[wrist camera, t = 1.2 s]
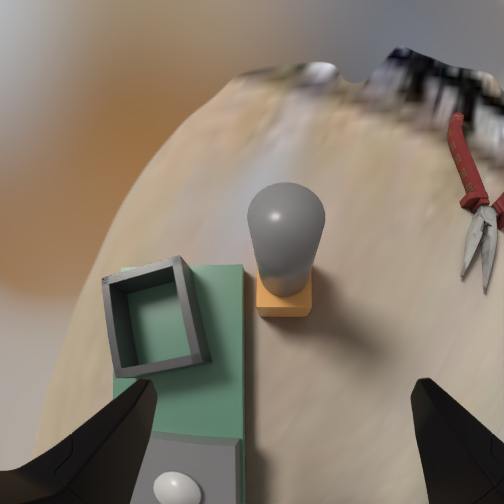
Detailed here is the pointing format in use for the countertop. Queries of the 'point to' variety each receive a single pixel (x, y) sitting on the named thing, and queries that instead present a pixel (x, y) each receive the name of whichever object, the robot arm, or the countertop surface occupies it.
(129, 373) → the frame
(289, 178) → the countertop surface
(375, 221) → the countertop surface
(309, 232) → the plug
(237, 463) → the grey button box
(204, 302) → the board
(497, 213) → the pliers
